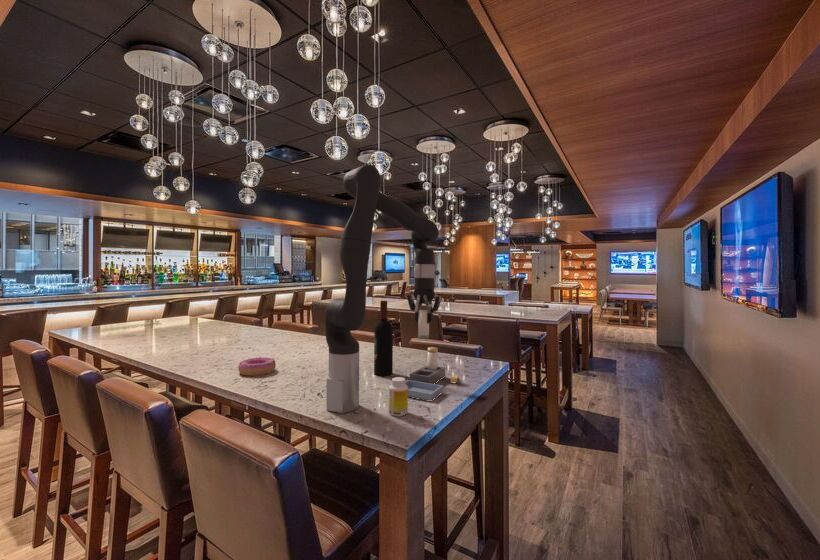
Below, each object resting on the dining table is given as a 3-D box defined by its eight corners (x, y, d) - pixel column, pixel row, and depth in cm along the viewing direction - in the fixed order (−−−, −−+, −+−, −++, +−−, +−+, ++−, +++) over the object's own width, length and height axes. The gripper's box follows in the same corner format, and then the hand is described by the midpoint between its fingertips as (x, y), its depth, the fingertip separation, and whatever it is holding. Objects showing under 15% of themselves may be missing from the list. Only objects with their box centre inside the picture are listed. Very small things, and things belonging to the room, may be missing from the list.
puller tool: (457, 383, 136) (457, 380, 136) (450, 383, 136) (450, 379, 136) (457, 377, 144) (457, 374, 144) (451, 377, 144) (451, 373, 144)
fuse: (434, 380, 140) (435, 349, 140) (425, 378, 142) (425, 348, 142) (439, 377, 143) (439, 347, 143) (429, 376, 145) (430, 346, 145)
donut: (252, 379, 140) (252, 366, 140) (230, 373, 147) (230, 361, 147) (283, 371, 152) (283, 359, 152) (261, 366, 160) (261, 354, 160)
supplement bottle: (411, 413, 107) (411, 379, 107) (398, 418, 103) (398, 383, 103) (398, 408, 111) (398, 375, 110) (384, 413, 107) (385, 379, 106)
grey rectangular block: (429, 387, 131) (429, 376, 131) (409, 384, 134) (409, 373, 134) (445, 377, 144) (445, 367, 144) (427, 374, 148) (427, 365, 148)
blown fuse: (426, 339, 132) (426, 306, 132) (416, 338, 134) (416, 305, 134) (430, 337, 136) (431, 305, 136) (421, 336, 138) (421, 305, 137)
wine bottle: (384, 377, 143) (384, 302, 142) (370, 374, 147) (370, 301, 147) (396, 373, 149) (396, 300, 148) (382, 370, 153) (383, 300, 153)
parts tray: (443, 392, 125) (443, 385, 125) (431, 401, 117) (431, 394, 116) (407, 386, 132) (407, 379, 132) (393, 394, 123) (393, 387, 123)
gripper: (402, 276, 135) (402, 322, 135) (437, 277, 128) (437, 325, 128) (412, 276, 141) (411, 320, 141) (445, 277, 135) (445, 323, 135)
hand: (423, 322), depth 135 cm, fingers closed on blown fuse, 4 cm apart
